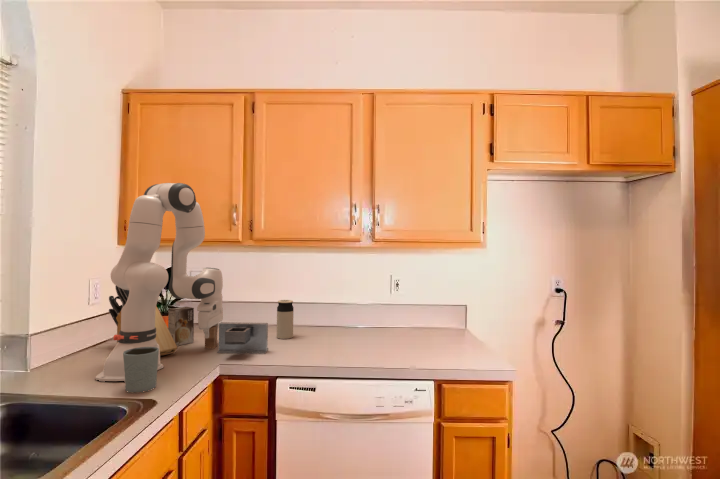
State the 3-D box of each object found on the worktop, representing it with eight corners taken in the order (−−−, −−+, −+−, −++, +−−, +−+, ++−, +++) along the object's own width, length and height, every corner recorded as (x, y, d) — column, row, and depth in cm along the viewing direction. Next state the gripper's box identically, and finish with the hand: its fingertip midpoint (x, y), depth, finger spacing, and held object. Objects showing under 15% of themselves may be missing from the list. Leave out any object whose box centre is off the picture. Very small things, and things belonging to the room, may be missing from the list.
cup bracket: (259, 359, 160) (260, 329, 160) (209, 359, 160) (209, 328, 160) (268, 349, 175) (268, 322, 175) (222, 349, 175) (222, 321, 175)
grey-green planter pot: (138, 396, 121) (138, 356, 121) (114, 391, 125) (115, 352, 125) (165, 385, 131) (166, 348, 131) (142, 380, 135) (143, 344, 135)
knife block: (131, 342, 184) (132, 274, 184) (178, 354, 166) (179, 279, 166) (104, 347, 174) (106, 276, 175) (151, 361, 156) (153, 281, 156)
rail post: (213, 348, 176) (214, 327, 176) (204, 348, 176) (205, 327, 176) (217, 346, 180) (217, 325, 180) (208, 345, 180) (208, 325, 180)
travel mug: (277, 339, 193) (277, 302, 193) (275, 336, 201) (276, 299, 201) (293, 338, 195) (294, 301, 195) (292, 335, 203) (292, 299, 203)
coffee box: (186, 340, 189) (187, 306, 190) (193, 342, 186) (194, 307, 186) (167, 344, 182) (168, 308, 182) (174, 346, 178) (175, 310, 178)
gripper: (213, 300, 188) (212, 330, 188) (195, 307, 168) (194, 340, 168) (226, 300, 188) (226, 330, 188) (210, 308, 168) (209, 341, 168)
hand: (211, 335), depth 178 cm, fingers open, 8 cm apart
